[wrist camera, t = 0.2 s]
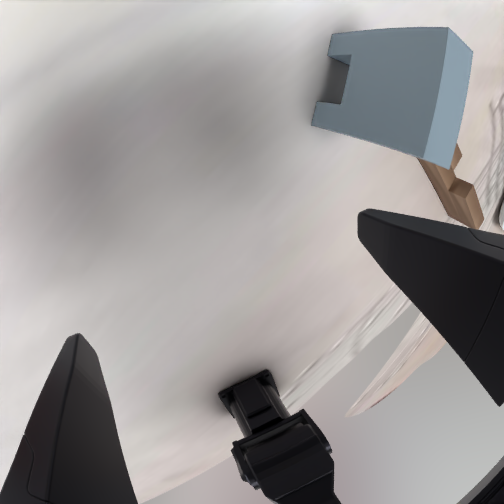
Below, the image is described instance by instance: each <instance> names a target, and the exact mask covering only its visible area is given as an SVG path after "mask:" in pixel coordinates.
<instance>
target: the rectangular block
mask: <svg viewBox="0 0 504 504" xmlns="http://www.w3.org/2000/svg"><path fill="white" fill-rule="evenodd" d="M328 56H329V57H332V58H334V59H336V60H339V61H341V62H343V63H345V64H348V65H350V66H349V71H348V75H347V80H346V84H345V89H344V93H343V97H342V102H341V105H340V104H333V103H325V102H317V104H316V108H315V112H314V116H313V120H312V126H316V127H319V128H323V129H326V130H330V131H333V132H337V133H340V134H344V135H347V136H351V137H354V138H358V139H361V140H365V141H368V142H371V143H375V144H378V145H381V146H384V147H387V148H390V149H394V150H397V151H400V152H402V153H405V154H408V155H411V156H414V157H417V158H420V159H422V160H425V161H428V162H430V163H433V164H436V165H438V166H441V167H443V168H446V169H448V170H449V169H450V165H451V161H452V158H453V154H454V150H455V146H456V142H457V138H458V134H459V130H460V125H461V121H462V116H463V112H464V107H465V101H466V96H467V90H468V85H469V78H470V72H471V65H472V57H473V51H472V50H471V49H470V48H469V47H468V46H467V45H466V44H465V43H464V42H463V41H462V40H461V39H460V38H459V37H458V36H457V35H456V34H455V33H454V32H453V31H452V30H451V29H450V28H449V27H407V28H387V29H374V30H363V31H354V32H346V33H338V34H332V38H331V42H330V47H329V51H328Z"/></svg>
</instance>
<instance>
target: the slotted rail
mask: <svg viewBox="0 0 504 504" xmlns="http://www.w3.org/2000/svg"><path fill="white" fill-rule="evenodd" d="M461 157H462V154H461V151H460V149H459V147H458V144H457V142H456V146H455V150H454V154H453V158H452V161H451V165H450V169H449V170H448V169H446V168H443V167H441V166H438V165H436V164H433V163H430V162H428V161H425V160H422V159H420V158H418V160H419V162H420V163H421V165H422V167H423V168H424V170H425V172H426V174H427V176H428V177H429V179H430V181H431V183H432V185H433V186H434V188H435V190H436V192H437V194H438V196H439V198H440V200H441V202H442V204H443V206H444V208H445V210H446V212H447V214H448V216H450V217H452V218H453V219H455V220H457V221H459V222H461V223H463V224H464V225H466V226H468V227H470V228H473V229H477V230H478V229H479V227H480V226H481V224H482V222H483V221H484V217H483V213H482V210H481V207H480V204H479V200H478V197H477V194H476V191H475V188H474V186H473V185H472V184H470V183H468V182H466V181H463V180H461V179H459V178H456V176H455V174H454V171H453V170H454V169H455V167H456V166H457V164H458V162H459V160H460V159H461Z"/></svg>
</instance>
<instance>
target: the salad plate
mask: <svg viewBox="0 0 504 504" xmlns="http://www.w3.org/2000/svg"><path fill="white" fill-rule="evenodd" d="M499 222H500V226H501V228H502V229H503V230H504V200H503V203H502V207H501V210H500V215H499Z"/></svg>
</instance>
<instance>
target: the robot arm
mask: <svg viewBox="0 0 504 504" xmlns="http://www.w3.org/2000/svg"><path fill="white" fill-rule="evenodd" d="M358 238H359V240H360V241H361V243H362V244H363V245H364V247H365V248H366V249H367V250H368V252H369V253H370V254H371V255H372V257H373V258H374V259H375V260H376V262H377V263H378V264H379V266H380V267H381V268H382V269H383V271H384V272H385V273H386V274H387V275H388V276H389V278H390V279H391V280H392V281H393V282H394V283H395V284H396V285H397V286H398V287H399V288H400V289H401V290H402V291H403V293H404V294H405V295H406V296H407V297H408V298H409V299H410V300H411V301H412V302H413V303H414V305H415V306H416V307H417V308H418V309H419V310H420V311H421V312H422V313H423V315H424V316H425V317H426V318H427V319H428V320H429V321H430V322H431V324H432V325H433V326H434V327H435V328H436V329H437V331H438V332H439V333H440V334H441V335H442V336H443V338H444V339H445V340H446V341H447V342H448V343H449V345H450V346H451V347H452V348H453V349H454V351H455V352H456V353H457V354H458V355H459V357H460V358H461V359H462V360H463V361H464V362H465V364H466V365H467V367H468V368H469V369H470V370H471V372H472V373H473V374H474V375H475V376H476V378H477V379H478V380H479V382H480V383H481V384H482V386H483V387H484V388H485V389H486V391H487V392H488V393H489V395H490V396H491V397H492V399H493V400H494V401H495V403H496V404H497V405H498V406H499V407H500V406H501V405H502V404H503V403H504V235H502V234H496V233H491V232H486V231H482V230H477V229H473V228H467V227H463V226H459V225H454V224H449V223H445V222H440V221H435V220H430V219H425V218H420V217H415V216H409V215H404V214H399V213H393V212H387V211H382V210H376V209H366V210H364V211H361V212H360V213H359V214H358ZM218 395H219V398H220V399H221V401H222V402H223V404H224V405H225V407H226V408H227V409H228V411H229V412H230V413H231V415H232V416H233V418H235V419H236V421H237V423H238V425H239V427H240V429H241V431H242V433H243V435H244V437H245V438H243V439H241V440H238V441H234V442H232V444H233V446H234V447H233V449H232V450H231V452H232V454H233V456H234V458H235V461H236V463H237V466H238V470H239V473H240V476H241V478H242V480H243V481H245V482H248V483H249V484H250V485H252V486H253V487H254V488H255V490H258V489H260V488H261V490H262V491H263V493H264V495H265V496H266V497H267V498H268V499H269V500H271V501H272V502H273V503H275V504H341V503H340V501H339V500H338V498H337V497H336V495H335V493H334V461H333V459H332V458H331V456H330V454H331V453H332V449H331V447H330V444H329V442H328V441H327V439H326V437H325V436H324V434H323V433H322V431H321V430H320V429H319V427H318V426H317V425H316V424H315V423H314V421H313V420H312V419H311V418H310V417H309V415H308V414H307V413H306V411H305V410H304V409H302V410H300V411H299V412H298V413H296V414H294V415H292V416H290V414H289V412H288V411H287V409H286V408H285V406H284V404H283V403H282V401H281V399H280V398H279V396H280V395H279V393H278V390H277V387H276V385H275V382H274V380H273V377H272V374H271V372H270V371H269V370H266V371H264V372H262V373H260V374H258V375H256V376H254V377H252V378H250V379H248V380H246V381H243V382H241V383H239V384H237V385H235V386H233V387H231V388H229V389H226V390H224V391H222V392H220V393H219V394H218ZM24 434H25V435H23V437H22V439H21V442H20V445H19V447H18V450H17V453H16V455H15V458H14V461H13V463H12V465H11V468H10V470H9V473H8V475H7V477H6V480H5V482H4V485H3V487H2V490H1V492H0V504H138V502H137V499H136V496H135V493H134V490H133V487H132V484H131V481H130V477H129V474H128V471H127V467H126V464H125V460H124V456H123V453H122V449H121V445H120V441H119V437H118V433H117V429H116V424H115V420H114V415H113V410H112V406H111V401H110V398H109V394H108V391H107V388H106V385H105V381H104V378H103V374H102V371H101V367H100V363H99V359H98V356H97V354H96V352H95V350H94V349H93V348H92V346H91V345H90V344H89V343H88V342H87V340H86V339H85V338H84V337H83V335H82V334H80V333H77V334H74V335H72V336H69V337H68V338H67V339H66V341H65V343H64V345H63V347H62V349H61V351H60V353H59V355H58V357H57V359H56V361H55V363H54V365H53V367H52V369H51V372H50V374H49V376H48V378H47V380H46V382H45V384H44V387H43V389H42V391H41V393H40V396H39V398H38V400H37V402H36V405H35V407H34V409H33V412H32V414H31V417H30V419H29V422H28V424H27V427H26V429H25V432H24ZM457 504H504V456H503V457H502V459H501V460H500V461H499V462H498V463H497V464H496V465H495V466H494V468H493V469H492V470H491V471H490V472H489V473H488V474H487V475H486V476H485V477H484V478H483V479H482V480H481V481H480V482H479V483H478V484H477V485H476V486H475V487H474V488H473V489H472V490H471V491H470V492H469V493H468V494H467V495H466V496H465V497H464V498H462V499H461V500H460V501H459V502H458V503H457Z"/></svg>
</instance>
